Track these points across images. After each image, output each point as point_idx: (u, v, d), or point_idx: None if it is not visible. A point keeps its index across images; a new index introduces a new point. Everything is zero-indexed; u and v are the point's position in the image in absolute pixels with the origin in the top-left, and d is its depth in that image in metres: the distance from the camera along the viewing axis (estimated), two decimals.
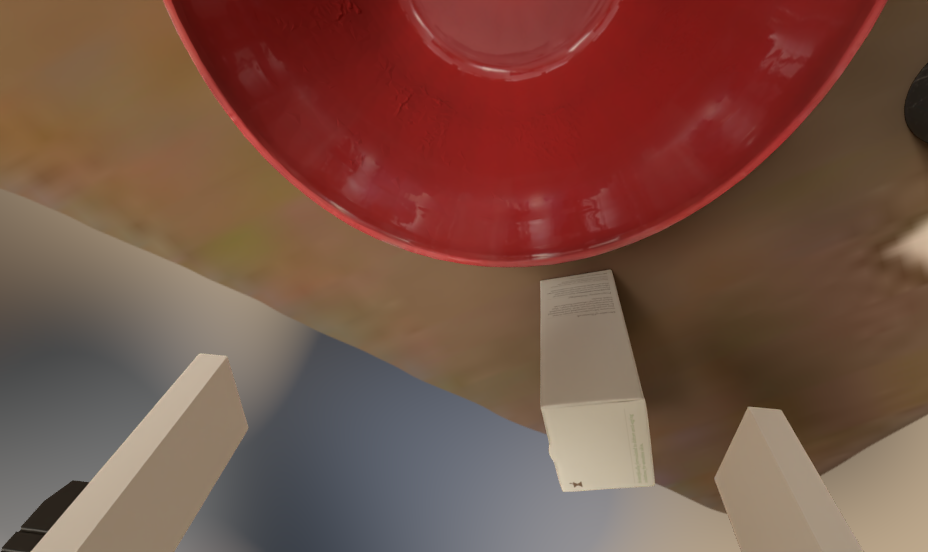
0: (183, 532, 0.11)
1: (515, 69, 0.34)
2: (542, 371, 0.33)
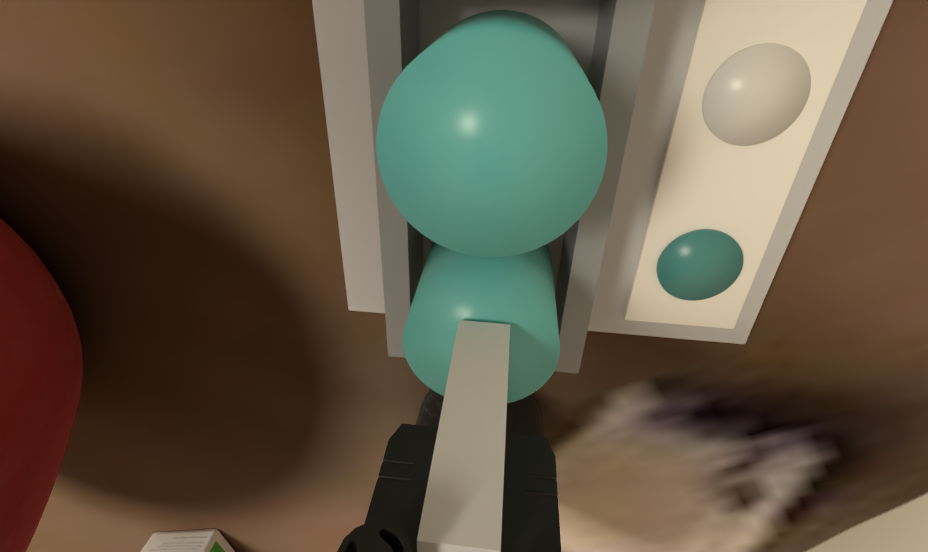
0: None
1: None
2: None
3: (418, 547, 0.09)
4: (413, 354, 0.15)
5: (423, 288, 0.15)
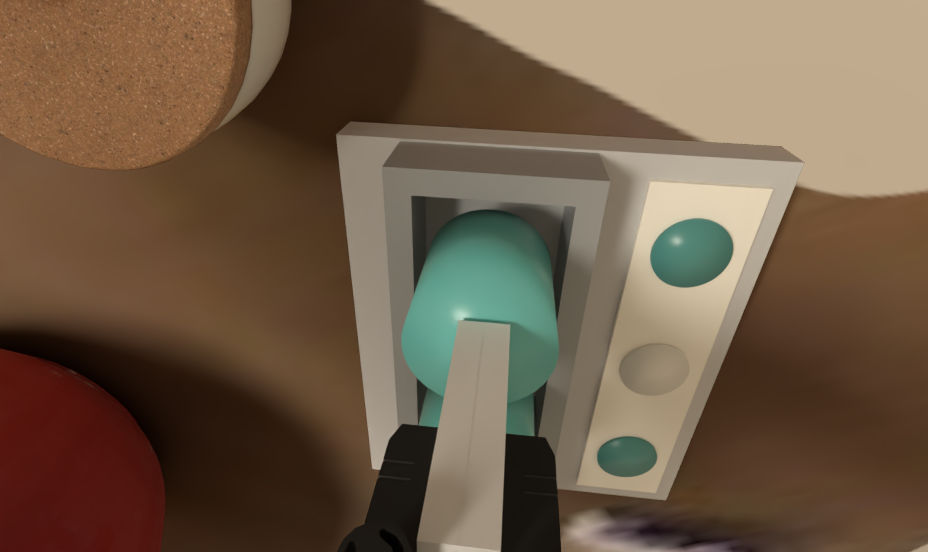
0: None
1: None
2: None
3: (418, 547, 0.09)
4: None
5: None
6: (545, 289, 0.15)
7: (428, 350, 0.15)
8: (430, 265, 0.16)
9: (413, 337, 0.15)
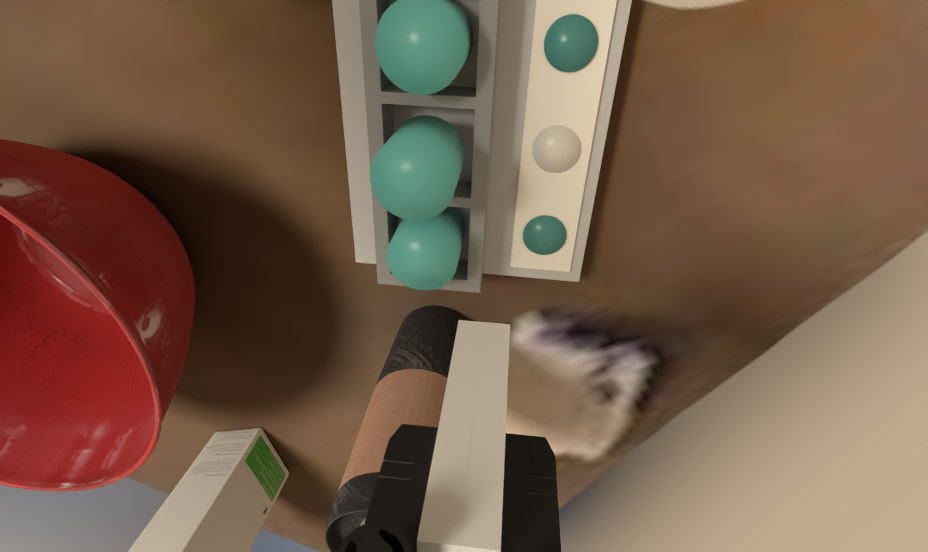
0: None
1: None
2: (145, 528, 0.47)
3: (418, 547, 0.09)
4: (391, 263, 0.33)
5: (396, 232, 0.33)
6: (459, 16, 0.26)
7: (390, 49, 0.26)
8: None
9: (381, 40, 0.26)
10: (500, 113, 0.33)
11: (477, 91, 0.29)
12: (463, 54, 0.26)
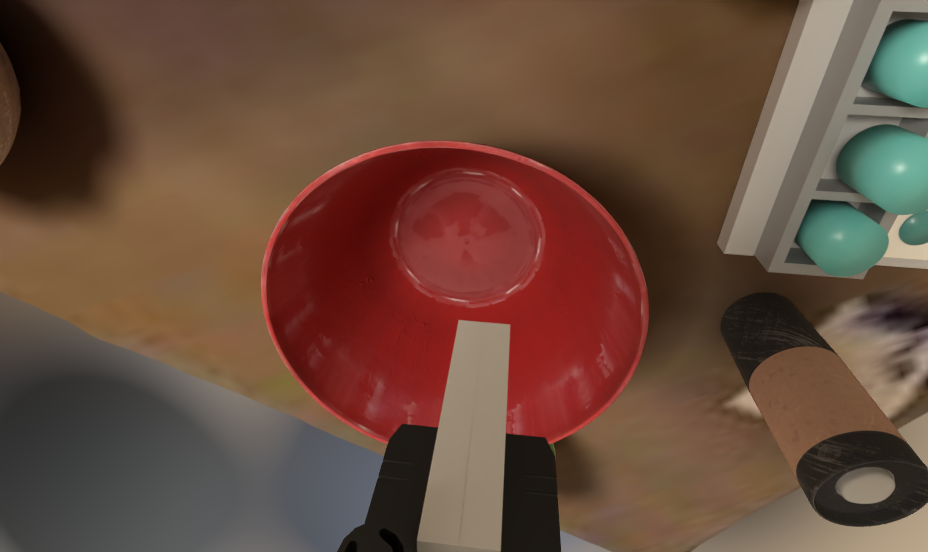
0: None
1: (472, 300, 0.52)
2: None
3: (418, 547, 0.09)
4: (821, 253, 0.38)
5: (829, 225, 0.38)
6: None
7: (917, 70, 0.31)
8: (904, 35, 0.32)
9: (913, 62, 0.31)
10: None
11: None
12: None
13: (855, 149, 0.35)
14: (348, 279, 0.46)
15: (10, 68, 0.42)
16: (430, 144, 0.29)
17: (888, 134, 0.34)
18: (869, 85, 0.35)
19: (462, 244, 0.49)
